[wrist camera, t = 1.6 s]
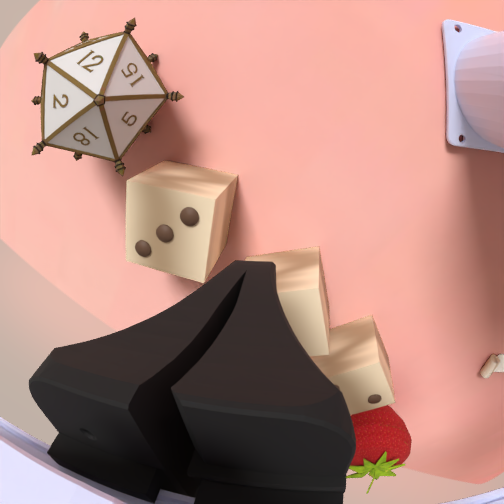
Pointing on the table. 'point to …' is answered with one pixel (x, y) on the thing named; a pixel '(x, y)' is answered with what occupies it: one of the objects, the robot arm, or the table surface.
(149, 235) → the pip block
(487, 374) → the toy measuring tape
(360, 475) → the strawberry
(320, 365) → the pip block
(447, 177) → the table surface
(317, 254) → the plain block
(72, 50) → the game die
